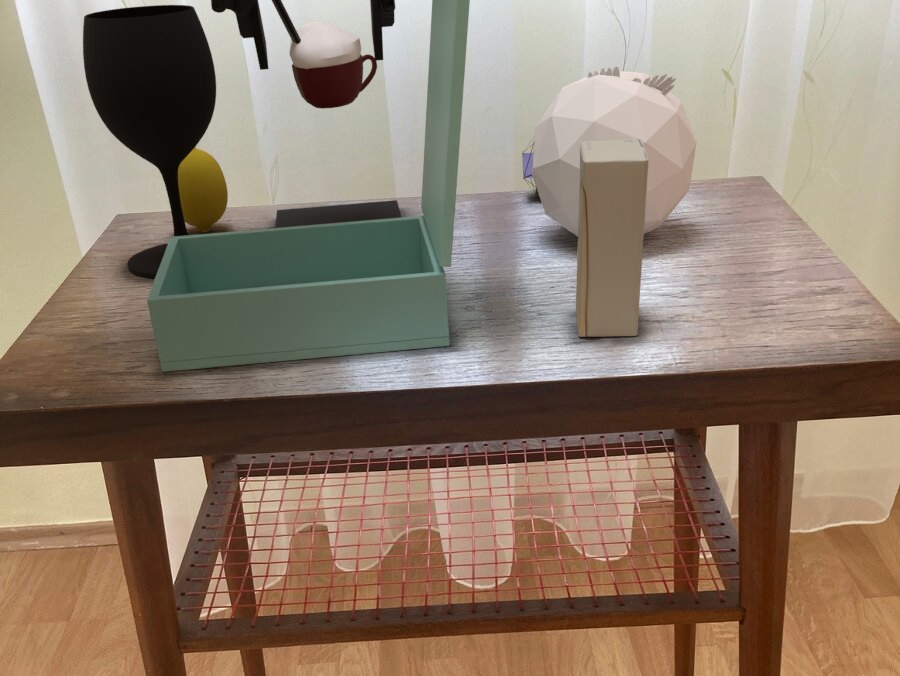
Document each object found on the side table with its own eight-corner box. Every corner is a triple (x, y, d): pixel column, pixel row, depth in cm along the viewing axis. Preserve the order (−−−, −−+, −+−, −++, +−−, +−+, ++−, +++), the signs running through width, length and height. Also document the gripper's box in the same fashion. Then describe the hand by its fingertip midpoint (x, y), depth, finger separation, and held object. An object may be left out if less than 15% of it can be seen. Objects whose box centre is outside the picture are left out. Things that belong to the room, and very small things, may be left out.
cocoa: (380, 95, 102) (367, -55, 95) (378, 108, 96) (364, -51, 90) (278, 102, 102) (258, -48, 95) (270, 115, 97) (248, -43, 90)
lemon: (194, 223, 110) (178, 138, 106) (243, 225, 108) (230, 139, 104) (165, 239, 106) (148, 151, 101) (216, 241, 104) (201, 152, 100)
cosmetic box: (575, 309, 84) (577, 139, 77) (634, 307, 83) (641, 136, 76) (578, 339, 78) (580, 160, 72) (641, 337, 78) (649, 157, 71)
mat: (274, 253, 100) (273, 244, 100) (278, 218, 110) (276, 209, 110) (406, 241, 101) (405, 233, 100) (397, 208, 111) (397, 199, 110)
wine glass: (107, 263, 100) (50, 16, 89) (205, 237, 106) (164, 1, 94) (163, 287, 93) (110, 23, 82) (266, 257, 99) (229, 6, 88)
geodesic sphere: (744, 148, 98) (652, 7, 94) (737, 189, 87) (632, 31, 83) (607, 248, 106) (517, 122, 102) (585, 298, 95) (482, 158, 90)
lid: (463, -99, 64) (537, -93, 64) (437, -105, 77) (500, -100, 77) (439, 267, 75) (502, 269, 76) (420, 209, 88) (475, 211, 89)
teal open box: (162, 372, 78) (146, 299, 75) (183, 300, 90) (170, 236, 87) (449, 346, 79) (445, 273, 76) (430, 279, 91) (426, 215, 89)
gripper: (445, -220, 79) (438, 6, 101) (131, -200, 78) (193, 25, 100) (457, -132, 77) (447, 78, 99) (138, -109, 76) (199, 98, 98)
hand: (320, 51), depth 99 cm, fingers closed on cocoa, 10 cm apart
